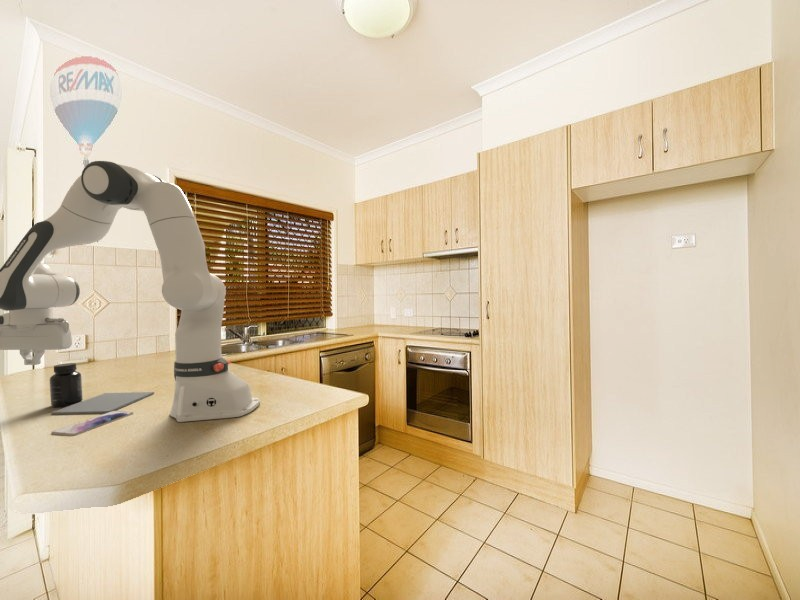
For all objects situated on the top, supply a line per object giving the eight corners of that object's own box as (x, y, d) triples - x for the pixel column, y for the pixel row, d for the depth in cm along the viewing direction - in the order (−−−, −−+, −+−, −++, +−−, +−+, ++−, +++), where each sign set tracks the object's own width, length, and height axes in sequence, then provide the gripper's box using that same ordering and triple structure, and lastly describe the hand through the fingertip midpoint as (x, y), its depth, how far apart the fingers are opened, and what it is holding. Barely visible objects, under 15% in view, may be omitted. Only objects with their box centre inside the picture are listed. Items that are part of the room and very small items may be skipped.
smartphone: (135, 412, 93) (73, 434, 79) (135, 415, 93) (73, 438, 79) (113, 410, 95) (49, 432, 80) (113, 413, 95) (49, 435, 80)
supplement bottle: (69, 400, 106) (68, 361, 105) (88, 401, 105) (87, 362, 104) (43, 407, 99) (42, 366, 99) (63, 408, 98) (62, 367, 98)
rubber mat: (154, 393, 112) (154, 392, 112) (109, 413, 94) (109, 411, 94) (105, 394, 111) (105, 393, 111) (51, 414, 93) (51, 412, 93)
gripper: (77, 317, 104) (78, 362, 105) (7, 317, 103) (8, 362, 104) (58, 319, 98) (58, 366, 98) (-17, 319, 97) (-16, 367, 97)
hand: (32, 364), depth 101 cm, fingers closed
